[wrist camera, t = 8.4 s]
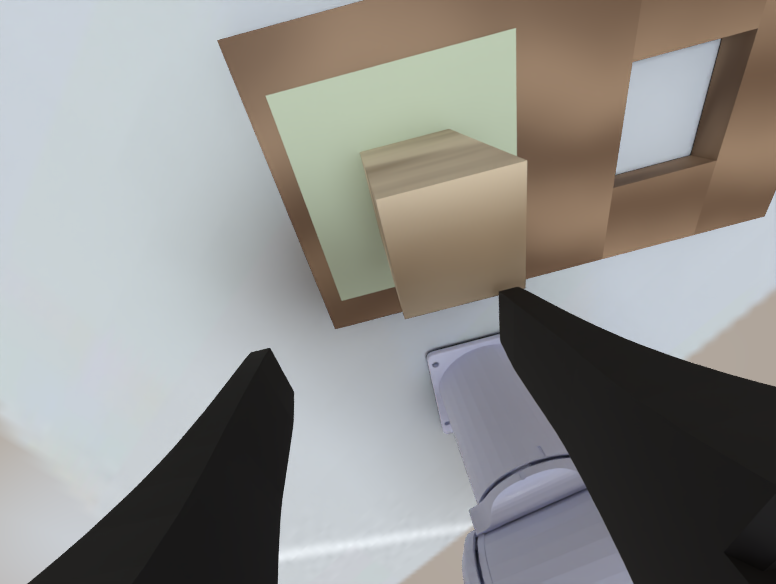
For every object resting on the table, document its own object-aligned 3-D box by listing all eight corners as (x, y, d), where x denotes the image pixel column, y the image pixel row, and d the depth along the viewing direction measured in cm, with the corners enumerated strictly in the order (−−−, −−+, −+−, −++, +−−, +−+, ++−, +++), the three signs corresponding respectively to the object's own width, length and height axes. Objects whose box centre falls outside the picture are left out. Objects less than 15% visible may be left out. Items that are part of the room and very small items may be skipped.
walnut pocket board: (738, 208, 21) (764, 216, 19) (335, 314, 21) (335, 329, 20) (864, -130, 13) (921, -152, 12) (228, 44, 13) (217, 40, 12)
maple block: (458, 215, 17) (525, 288, 11) (380, 235, 17) (404, 319, 11) (449, 128, 14) (527, 160, 8) (359, 152, 14) (375, 199, 9)
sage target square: (515, 252, 18) (517, 254, 18) (341, 298, 19) (341, 301, 18) (512, 28, 13) (516, 28, 13) (266, 95, 13) (265, 95, 13)
